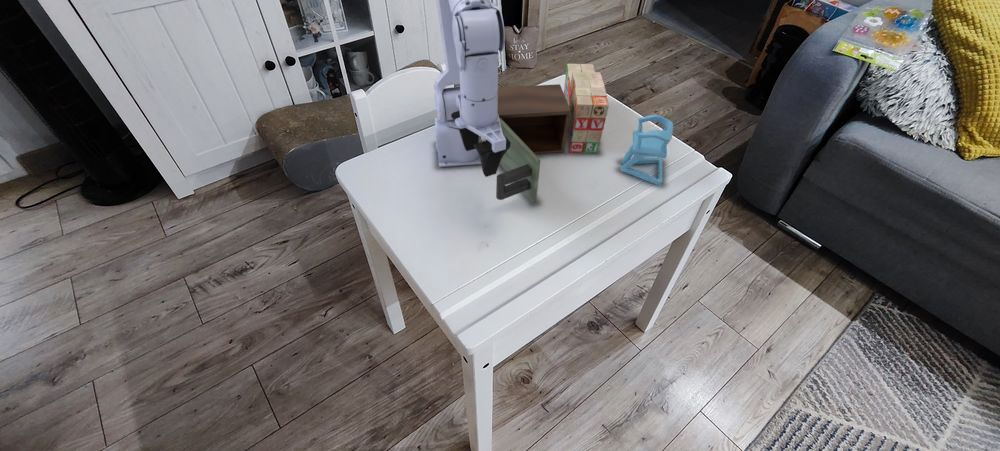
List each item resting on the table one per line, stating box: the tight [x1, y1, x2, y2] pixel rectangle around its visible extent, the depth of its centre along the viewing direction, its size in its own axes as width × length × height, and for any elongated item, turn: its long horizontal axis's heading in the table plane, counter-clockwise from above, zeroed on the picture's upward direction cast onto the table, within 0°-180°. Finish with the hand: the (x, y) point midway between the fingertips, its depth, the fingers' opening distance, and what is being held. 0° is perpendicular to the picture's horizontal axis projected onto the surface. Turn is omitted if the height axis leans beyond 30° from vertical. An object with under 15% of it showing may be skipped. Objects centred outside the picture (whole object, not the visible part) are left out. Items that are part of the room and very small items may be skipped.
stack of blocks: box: [563, 63, 610, 154], centre depth 101 cm, size 21×6×12 cm, turn 179°
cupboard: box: [498, 83, 571, 156], centre depth 97 cm, size 10×15×11 cm
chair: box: [620, 114, 674, 186], centre depth 90 cm, size 8×8×12 cm
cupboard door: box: [495, 118, 541, 204], centre depth 87 cm, size 8×15×10 cm, turn 29°
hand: (480, 161), depth 79 cm, fingers open, 7 cm apart
